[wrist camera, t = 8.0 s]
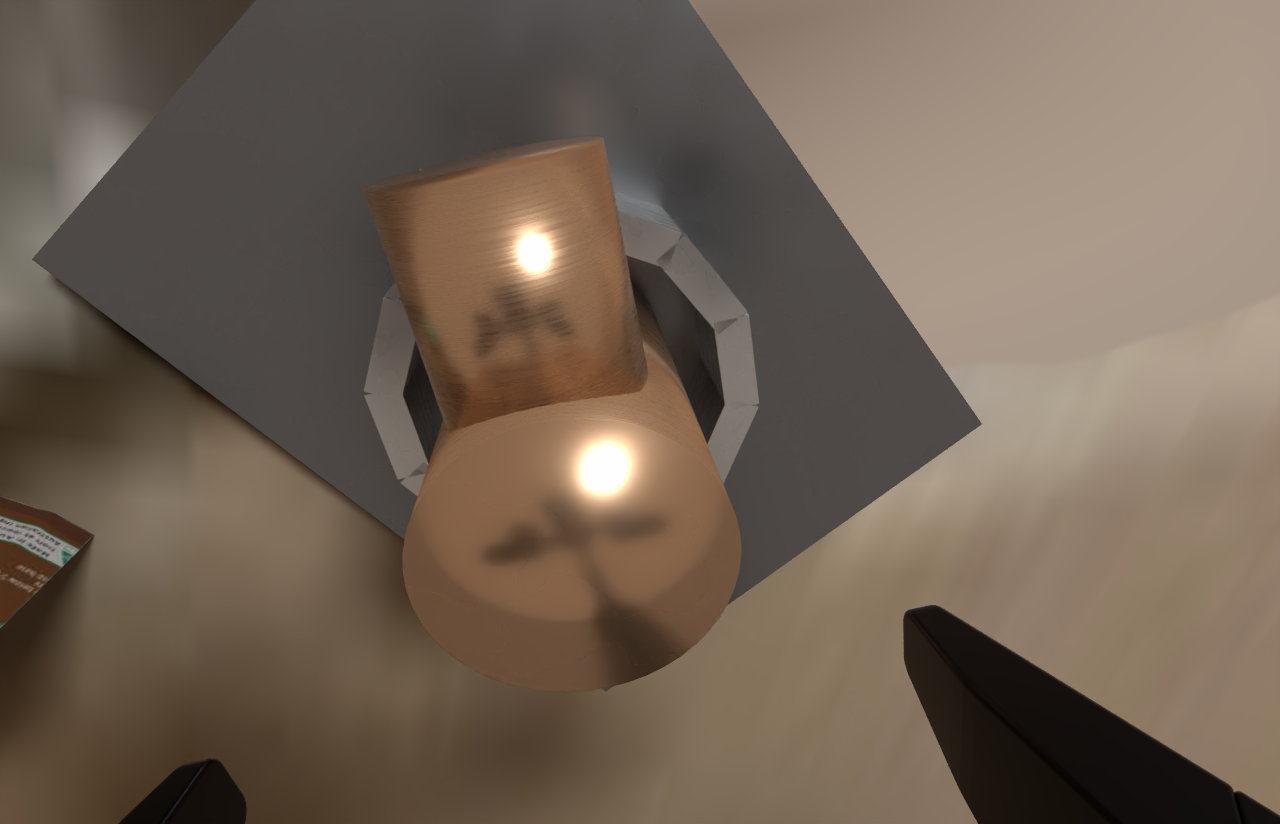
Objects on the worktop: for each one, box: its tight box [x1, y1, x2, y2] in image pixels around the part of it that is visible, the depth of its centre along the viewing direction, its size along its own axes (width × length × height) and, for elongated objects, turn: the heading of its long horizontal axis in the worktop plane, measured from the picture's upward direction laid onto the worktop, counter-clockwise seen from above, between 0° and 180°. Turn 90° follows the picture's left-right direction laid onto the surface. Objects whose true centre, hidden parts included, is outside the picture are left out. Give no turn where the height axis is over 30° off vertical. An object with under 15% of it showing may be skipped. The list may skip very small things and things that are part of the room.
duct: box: [32, 0, 981, 691], centre depth 17 cm, size 20×15×4 cm
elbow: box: [363, 136, 741, 692], centre depth 14 cm, size 5×8×9 cm, turn 10°
